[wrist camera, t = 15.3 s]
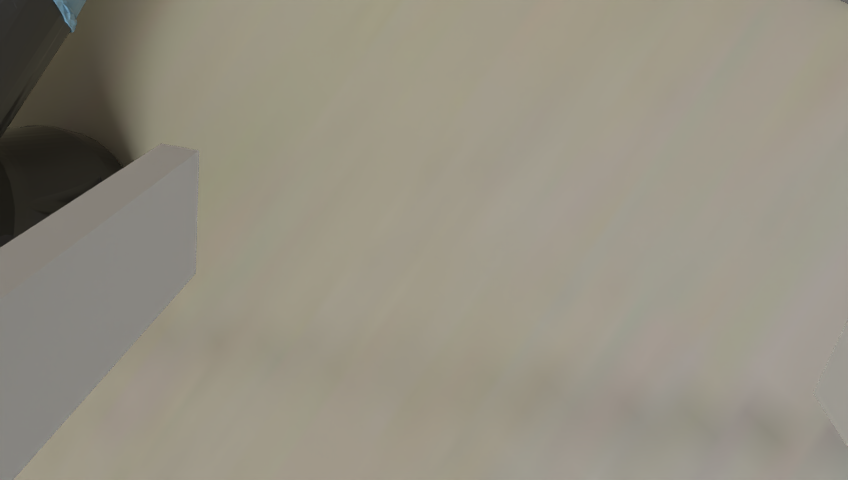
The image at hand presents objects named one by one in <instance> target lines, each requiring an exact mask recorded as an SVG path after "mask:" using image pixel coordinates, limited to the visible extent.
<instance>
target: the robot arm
mask: <svg viewBox="0 0 848 480" xmlns="http://www.w3.org/2000/svg"><path fill="white" fill-rule="evenodd" d="M85 2H86V0H0V480H13V479H14V478H15V477H16V476H17V475H18V474H19V473H20V471H21V470H22V469H23V468H24V467H25V466H26V465H27V463H28V462H29V461H30V460H31V459H32V458H33V457H34V456H35V454H36V453H37V452H38V451H39V450H40V449H41V448H42V446H43V445H44V444H45V443H46V442H47V441H48V440H49V439H50V437H51V436H52V435H53V434H54V433H55V432H56V431H57V430H58V428H59V427H60V426H61V425H62V424H63V423H64V422H65V420H66V419H67V418H68V417H69V416H70V415H71V414H72V413H73V411H74V410H75V409H76V408H77V407H78V406H79V405H80V403H81V402H82V401H83V400H84V399H85V398H86V397H87V396H88V394H89V393H90V392H91V391H92V390H93V389H94V388H95V387H96V385H97V384H98V383H99V382H100V381H101V380H102V379H103V377H104V376H105V375H106V374H107V373H108V372H109V371H110V370H111V368H112V367H113V366H114V365H115V364H116V363H117V362H118V360H119V359H120V358H121V357H122V356H123V355H124V354H125V353H126V351H127V350H128V349H129V348H130V347H131V346H132V345H133V344H134V342H135V341H136V340H137V339H138V338H139V337H140V336H141V334H142V333H143V332H144V331H145V330H146V329H147V328H148V327H149V325H150V324H151V323H152V322H153V321H154V320H155V319H156V317H157V316H158V315H159V314H160V313H161V312H162V311H163V310H164V308H165V307H166V306H167V305H168V304H169V303H170V302H171V301H172V299H173V298H174V297H175V296H176V295H177V294H178V293H179V291H180V290H181V289H182V288H183V287H184V286H185V285H186V284H187V282H188V281H189V280H190V279H191V278H192V277H193V276H194V274H195V273H196V239H197V205H198V171H199V150H194V149H189V148H184V147H178V146H173V145H168V144H162V143H161V144H160V145H158V146H156V147H155V148H153V149H152V150H150V151H149V152H147V153H146V154H144V155H143V156H141V157H139V158H138V159H136V160H135V161H133V162H132V163H130V164H129V165H127V166H126V167H124V168H122V167H121V165H120V164H119V163H118V161H117V160H116V159H115V158H114V156H113V155H112V154H111V153H110V152H109V151H108V150H107V149H106V148H105V147H103V146H102V145H101V144H99V143H98V142H96V141H95V140H93V139H91V138H89V137H87V136H84V135H82V134H78V133H75V132H71V131H67V130H64V129H60V128H56V127H50V126H38V125H35V126H24V127H17V128H7V127H8V126H9V124H10V123H11V121H12V120H13V118H14V117H15V115H16V114H17V112H18V110H19V109H20V107H21V106H22V104H23V103H24V101H25V100H26V98H27V97H28V95H29V93H30V92H31V90H32V89H33V87H34V86H35V84H36V83H37V81H38V80H39V78H40V77H41V75H42V73H43V72H44V70H45V69H46V67H47V66H48V64H49V63H50V61H51V60H52V58H53V57H54V55H55V53H56V52H57V50H58V49H59V47H60V46H61V44H62V43H63V41H64V40H65V38H66V36H67V35H68V33H70V32H72V33H73V32H74V30H75V29H76V28H75V27H76V25H77V19H76V18H77V16H78V14H79V13H80V11H81V9H82V7H83V6H84V4H85ZM813 394H814V395H815V397H816V399H817V400H818V402H819V403H820V405H821V406H822V408H823V410H824V411H825V413H826V414H827V416H828V417H829V419H830V421H831V422H832V424H833V425H834V427H835V428H836V430H837V432H838V433H839V435H840V436H841V438H842V439H843V441H844V442H845V444H846V446H847V447H848V320H847V322H846V324H845V326H844V328H843V330H842V332H841V335H840V337H839V339H838V341H837V343H836V345H835V347H834V349H833V352H832V354H831V356H830V358H829V360H828V362H827V364H826V366H825V369H824V371H823V373H822V375H821V377H820V379H819V381H818V383H817V386H816V388H815V390H814V392H813Z"/></svg>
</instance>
